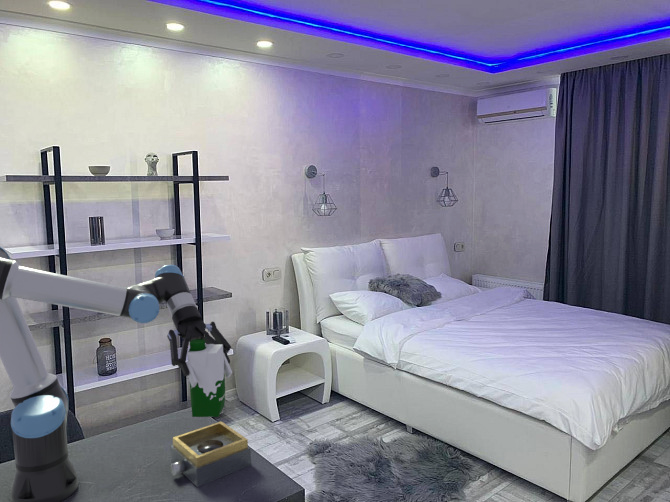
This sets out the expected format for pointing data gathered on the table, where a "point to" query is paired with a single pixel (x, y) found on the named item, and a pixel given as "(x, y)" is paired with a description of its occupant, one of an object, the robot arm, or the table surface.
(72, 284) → the robot arm
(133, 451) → the table surface
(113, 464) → the table surface
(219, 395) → the soya milk
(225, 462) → the wooden rimmed tray
